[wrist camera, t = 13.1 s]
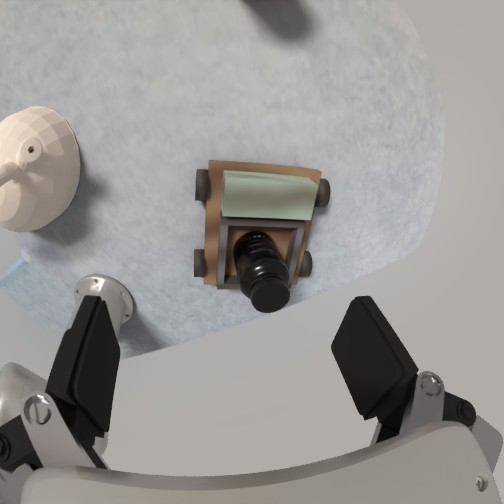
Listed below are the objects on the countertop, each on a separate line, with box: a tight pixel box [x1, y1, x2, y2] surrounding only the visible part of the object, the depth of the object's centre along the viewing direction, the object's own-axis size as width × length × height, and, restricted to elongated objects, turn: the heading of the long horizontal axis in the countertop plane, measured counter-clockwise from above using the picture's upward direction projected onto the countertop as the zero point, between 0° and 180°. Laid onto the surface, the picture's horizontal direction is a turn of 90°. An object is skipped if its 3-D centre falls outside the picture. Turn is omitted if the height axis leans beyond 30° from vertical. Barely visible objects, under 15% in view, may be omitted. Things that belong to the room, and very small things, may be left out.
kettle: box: [0, 107, 81, 232], centre depth 24 cm, size 20×21×18 cm
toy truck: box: [194, 160, 330, 289], centre depth 41 cm, size 20×19×7 cm
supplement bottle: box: [233, 231, 290, 313], centre depth 37 cm, size 7×7×12 cm
